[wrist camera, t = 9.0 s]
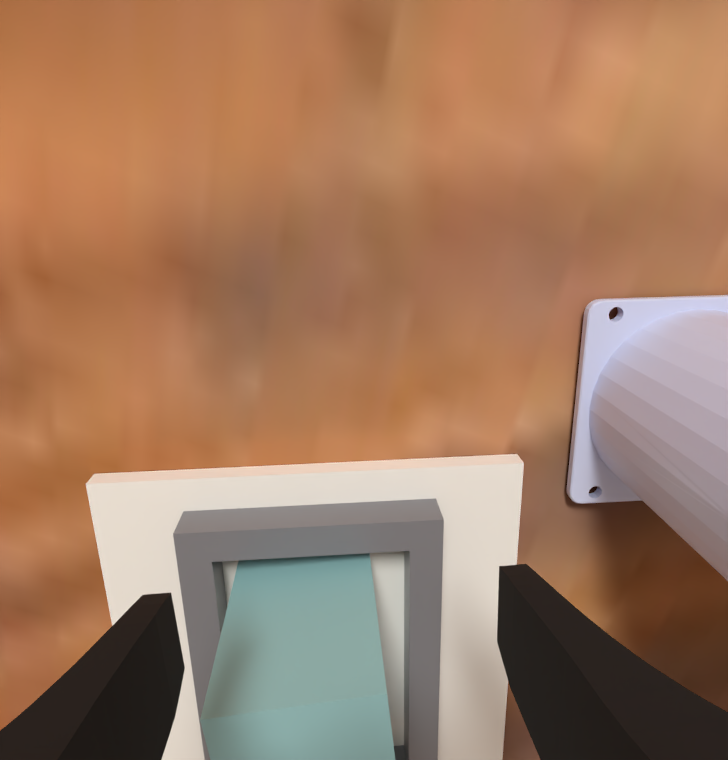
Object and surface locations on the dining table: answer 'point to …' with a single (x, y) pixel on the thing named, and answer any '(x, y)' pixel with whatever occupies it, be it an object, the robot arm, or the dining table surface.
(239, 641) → the teal block
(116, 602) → the socket board
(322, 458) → the dining table surface
